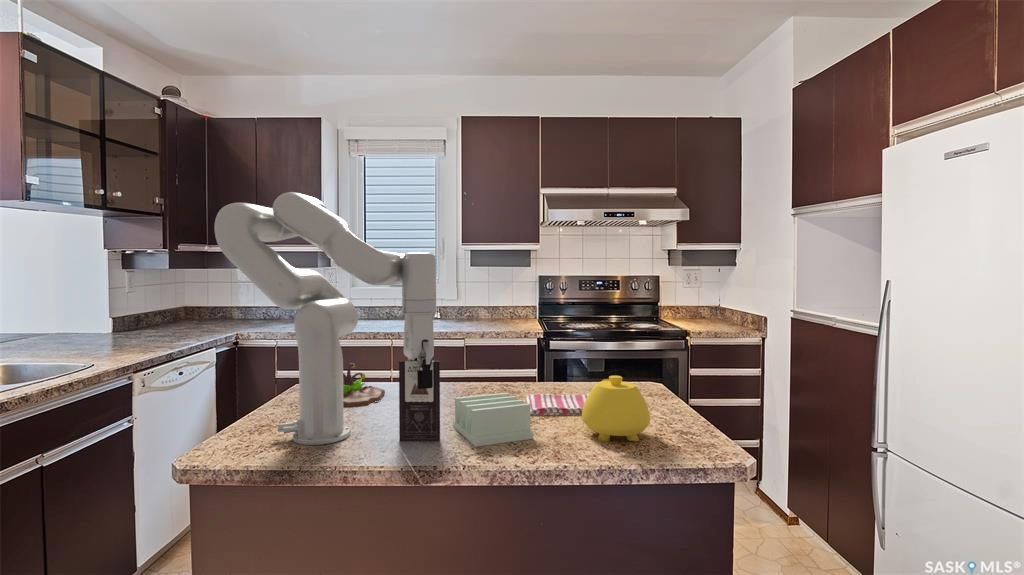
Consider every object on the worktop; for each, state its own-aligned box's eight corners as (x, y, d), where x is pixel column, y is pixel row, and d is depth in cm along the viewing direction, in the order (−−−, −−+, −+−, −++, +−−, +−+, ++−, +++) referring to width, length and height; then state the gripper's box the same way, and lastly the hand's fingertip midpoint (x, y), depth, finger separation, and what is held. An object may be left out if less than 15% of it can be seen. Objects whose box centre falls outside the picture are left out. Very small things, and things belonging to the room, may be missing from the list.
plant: (394, 395, 161) (394, 359, 161) (367, 411, 142) (367, 371, 141) (334, 392, 164) (334, 357, 164) (300, 408, 145) (300, 368, 144)
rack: (475, 446, 111) (475, 412, 111) (453, 426, 126) (453, 396, 126) (533, 438, 117) (533, 405, 117) (505, 420, 132) (505, 391, 132)
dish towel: (616, 417, 137) (616, 404, 137) (528, 417, 136) (529, 404, 136) (602, 401, 154) (602, 389, 154) (524, 401, 153) (524, 390, 153)
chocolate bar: (399, 441, 115) (399, 361, 115) (400, 439, 116) (400, 360, 116) (439, 441, 115) (439, 361, 115) (440, 440, 116) (439, 360, 116)
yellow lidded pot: (576, 419, 132) (576, 366, 132) (636, 420, 132) (637, 366, 132) (586, 445, 112) (586, 383, 112) (657, 446, 112) (658, 383, 112)
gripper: (395, 305, 121) (395, 378, 122) (411, 310, 105) (411, 393, 106) (426, 305, 124) (426, 375, 125) (446, 309, 108) (447, 390, 109)
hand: (419, 384), depth 115 cm, fingers open, 9 cm apart
